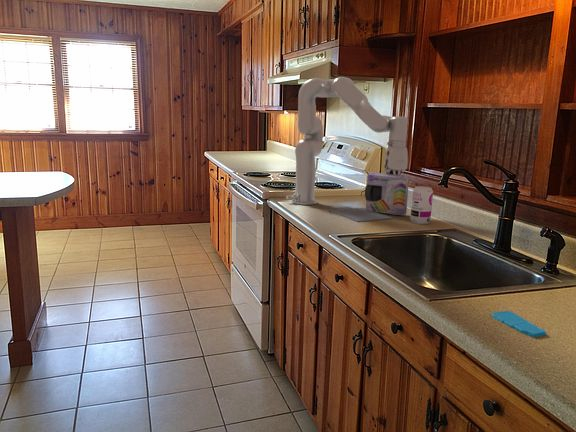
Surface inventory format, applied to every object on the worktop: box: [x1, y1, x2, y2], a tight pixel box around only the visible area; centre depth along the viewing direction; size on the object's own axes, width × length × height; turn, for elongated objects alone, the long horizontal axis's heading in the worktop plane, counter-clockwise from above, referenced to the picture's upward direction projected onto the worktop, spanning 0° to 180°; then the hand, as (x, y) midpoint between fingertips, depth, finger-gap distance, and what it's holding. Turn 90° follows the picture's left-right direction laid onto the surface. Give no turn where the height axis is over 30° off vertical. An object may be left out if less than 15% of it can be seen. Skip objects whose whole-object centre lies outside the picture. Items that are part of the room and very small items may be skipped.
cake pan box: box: [364, 171, 410, 217], centre depth 219 cm, size 19×5×18 cm, turn 62°
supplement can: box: [409, 185, 434, 225], centre depth 205 cm, size 8×8×15 cm
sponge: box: [490, 310, 547, 338], centre depth 109 cm, size 2×12×6 cm
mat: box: [330, 207, 394, 223], centre depth 216 cm, size 18×22×1 cm
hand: (393, 184), depth 221 cm, fingers closed
